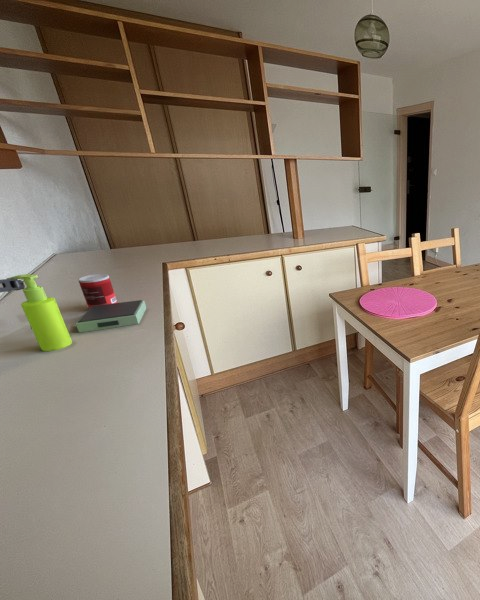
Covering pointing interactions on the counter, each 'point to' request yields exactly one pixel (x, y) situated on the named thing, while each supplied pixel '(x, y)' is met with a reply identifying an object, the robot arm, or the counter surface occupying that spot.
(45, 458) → the counter surface
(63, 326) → the soap dispenser
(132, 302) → the scale
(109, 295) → the canned food
